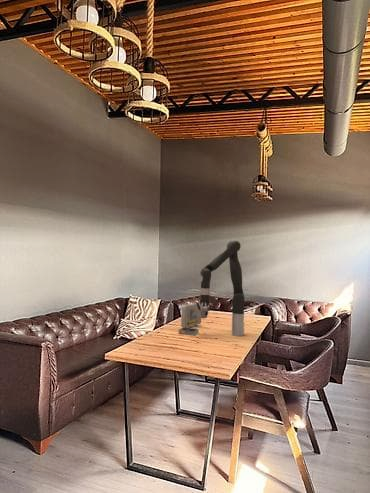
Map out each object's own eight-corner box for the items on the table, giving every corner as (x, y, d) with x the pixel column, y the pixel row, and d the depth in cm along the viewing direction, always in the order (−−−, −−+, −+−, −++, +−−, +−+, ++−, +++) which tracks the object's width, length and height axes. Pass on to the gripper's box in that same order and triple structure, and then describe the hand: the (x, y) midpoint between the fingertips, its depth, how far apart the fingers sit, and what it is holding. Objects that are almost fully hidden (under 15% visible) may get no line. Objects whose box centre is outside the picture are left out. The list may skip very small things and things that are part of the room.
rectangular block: (207, 317, 310) (207, 308, 310) (204, 318, 304) (205, 309, 304) (203, 317, 311) (203, 308, 311) (201, 318, 305) (201, 309, 305)
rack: (198, 333, 314) (198, 329, 314) (193, 335, 305) (193, 331, 305) (183, 331, 319) (183, 327, 319) (178, 333, 310) (178, 329, 310)
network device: (195, 324, 347) (195, 302, 347) (203, 326, 342) (204, 303, 342) (178, 329, 326) (179, 305, 326) (187, 330, 321) (188, 306, 321)
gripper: (214, 294, 309) (214, 315, 309) (198, 292, 314) (197, 314, 314) (212, 295, 302) (211, 317, 302) (195, 293, 307) (194, 315, 307)
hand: (204, 315), depth 308 cm, fingers closed on rectangular block, 3 cm apart
